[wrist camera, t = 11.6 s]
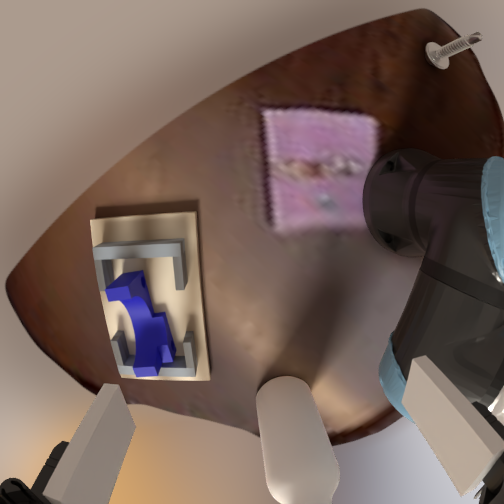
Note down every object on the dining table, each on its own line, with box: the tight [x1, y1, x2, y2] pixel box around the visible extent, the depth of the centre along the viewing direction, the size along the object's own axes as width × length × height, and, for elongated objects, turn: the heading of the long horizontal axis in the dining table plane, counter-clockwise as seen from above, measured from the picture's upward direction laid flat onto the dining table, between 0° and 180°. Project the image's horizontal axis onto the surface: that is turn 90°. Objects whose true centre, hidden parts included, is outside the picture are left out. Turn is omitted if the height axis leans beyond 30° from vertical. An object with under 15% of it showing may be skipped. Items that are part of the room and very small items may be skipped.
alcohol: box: [256, 376, 340, 504], centre depth 29 cm, size 9×9×30 cm
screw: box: [424, 32, 482, 70], centre depth 26 cm, size 13×5×5 cm
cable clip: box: [105, 270, 176, 377], centre depth 34 cm, size 12×4×6 cm, turn 9°
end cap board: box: [90, 211, 211, 380], centre depth 36 cm, size 14×24×4 cm, turn 2°
